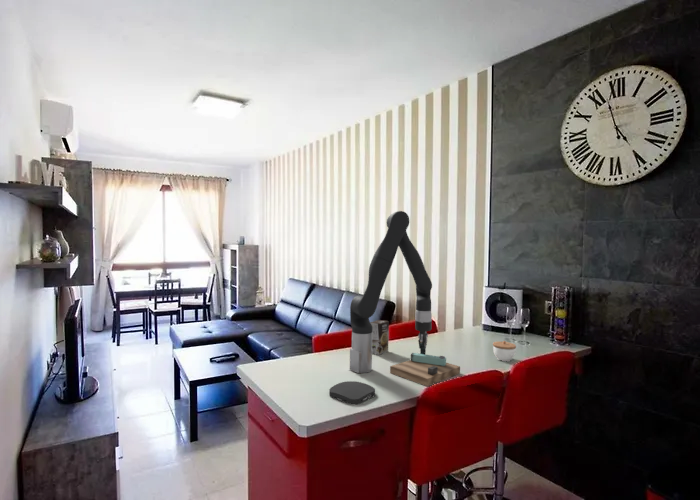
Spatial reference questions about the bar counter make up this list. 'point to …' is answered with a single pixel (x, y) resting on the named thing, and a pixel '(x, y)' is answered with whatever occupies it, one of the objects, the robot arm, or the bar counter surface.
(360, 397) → the media streaming box
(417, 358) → the folding leg
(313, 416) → the bar counter surface
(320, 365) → the bar counter surface
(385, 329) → the coffee box
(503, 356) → the lidded jar
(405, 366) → the wooden board
